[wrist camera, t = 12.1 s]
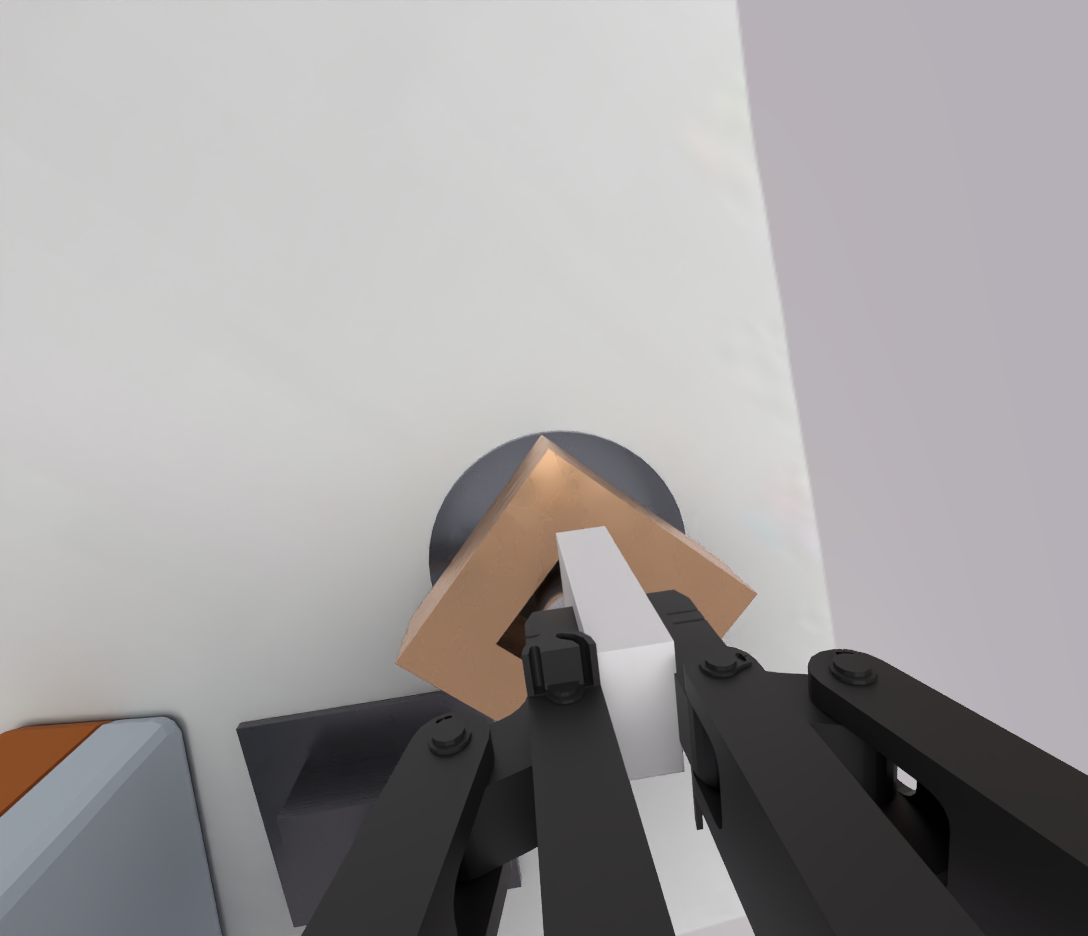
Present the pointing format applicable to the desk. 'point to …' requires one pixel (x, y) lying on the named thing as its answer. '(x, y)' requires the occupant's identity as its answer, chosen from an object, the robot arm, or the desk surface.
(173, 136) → the desk surface
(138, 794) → the grey rounded upright slab
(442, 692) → the stand
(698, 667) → the robot arm
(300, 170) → the desk surface
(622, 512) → the brown square ring block
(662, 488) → the hub
